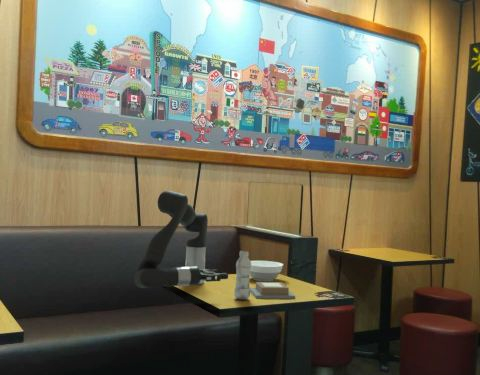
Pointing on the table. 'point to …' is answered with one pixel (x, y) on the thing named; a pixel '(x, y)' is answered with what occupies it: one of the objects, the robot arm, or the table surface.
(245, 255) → the plastic bottle
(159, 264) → the robot arm
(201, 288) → the table surface
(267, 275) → the bowl
